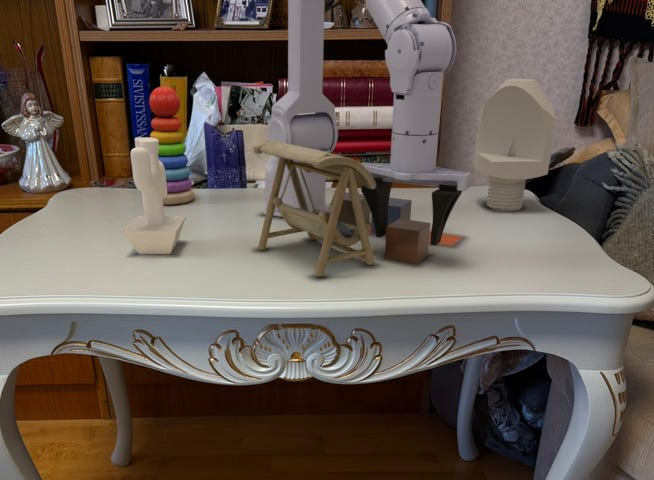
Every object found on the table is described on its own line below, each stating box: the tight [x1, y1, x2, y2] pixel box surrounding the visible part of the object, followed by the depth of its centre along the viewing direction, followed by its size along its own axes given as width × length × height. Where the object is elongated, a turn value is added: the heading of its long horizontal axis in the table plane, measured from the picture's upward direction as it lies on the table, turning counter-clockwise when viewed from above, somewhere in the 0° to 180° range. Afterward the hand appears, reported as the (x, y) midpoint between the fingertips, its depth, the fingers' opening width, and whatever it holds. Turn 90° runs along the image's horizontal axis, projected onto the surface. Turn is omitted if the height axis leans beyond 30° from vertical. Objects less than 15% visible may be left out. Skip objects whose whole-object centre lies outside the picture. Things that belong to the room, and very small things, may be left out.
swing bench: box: [252, 141, 376, 278], centre depth 86 cm, size 15×10×15 cm, turn 34°
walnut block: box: [384, 219, 431, 265], centre depth 89 cm, size 4×4×4 cm
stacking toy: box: [148, 86, 195, 206], centre depth 114 cm, size 8×8×19 cm
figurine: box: [122, 136, 187, 255], centre depth 90 cm, size 7×9×15 cm
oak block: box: [332, 191, 371, 226], centre depth 102 cm, size 4×4×4 cm
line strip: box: [367, 223, 463, 247], centre depth 100 cm, size 21×5×1 cm, turn 61°
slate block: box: [370, 197, 413, 235], centre depth 99 cm, size 4×4×4 cm
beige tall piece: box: [473, 78, 557, 212], centre depth 109 cm, size 9×9×20 cm
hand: (407, 239), depth 88 cm, fingers open, 7 cm apart
